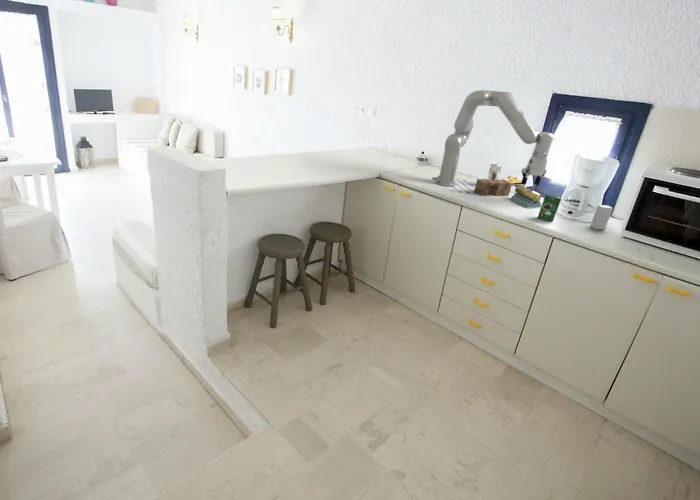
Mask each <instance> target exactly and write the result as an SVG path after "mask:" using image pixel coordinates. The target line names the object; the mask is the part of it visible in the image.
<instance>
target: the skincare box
mask: <svg viewBox="0 0 700 500" xmlns="http://www.w3.org/2000/svg"><path fill="white" fill-rule="evenodd" d="M613 210H614V208H613V207H612V206H610V205H608V204H607V205H602V204H597V206H596V209H595V211H594V215H593V216H592V220H591V222H590V225H589V226H590V227H591V228H592V227H593V228H592V229H594V230H606V228H607V225H608V223H609V220H610V217H611V214H612V212H613Z"/></svg>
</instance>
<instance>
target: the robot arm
mask: <svg viewBox="0 0 700 500" xmlns="http://www.w3.org/2000/svg"><path fill="white" fill-rule="evenodd" d="M514 98H515V97H514V95H513V94H512V92H509V91H499V90H498V91H497V90H489V89H488V90H485V89H479V90H475V91H472V92H470V93H469V94H468V95H467V96H466V97H465V99H464V101H463V102H462V106H461V108H460V109H459V113H458V115H457V117H456V119H455V122H454V124H453V127H454V133H451V134H450V135H448V136H447V137H446V140H445V143H444V150H443V151H444V152H443V157H442V162H441V168H440V171H439V175H437V176H433V177H431V180H432V181H435V183H436V184H438V185H441V186H445V187H455V186H456V184H457V183H456V182H455V177H456V174H457V173H456V172H457V169H458V164H459V159H460V154H461V148H463V147H464V146H465V145H466V144H467V141H468V139H469V137H470V135H471V133H472V130H473V128H474V124H475V122H474V119H473V118H474V116H475V113H476V110H477V108H478V107H479V106H480V107H484V106H488V107H497V108H498V109H499V111H501V112H502V114H503V115H504V117H505V118H506V120H507V121H508V122H509V124H510V125H511V127H512V128H513V130H514V131H515V133H516V135H517V136H518V137H519V139H520V140H521V141H522V142H523V143H524V144H527V145H531V144H535V147H534V149H533V152H532V154H531V155H532V156H531V157H530V158H529V160H528V163H527V164H526V167H524V168H522V169H521V174H522V179H521V184H522V185H524V186H525V185H526V184H527V182H528V179H529V176H535V180H534V183H533V184H534V185H537V186H539V185H540V183H541V181H542V179H543V177H545V175H546V173H547V172H548V170H547V169H546V167H547V162H548V158H547V157H548V155H549V152H550V148H551V146H552V143H553V141H554V138H555V137H554V133H551V132H547V131H541V130H537V129H536V128H532V127H531V126H530V124H529V122H528V121H527V120H526V117H525V114H524V111H523V109H522V107H520V106H519V105H518V103H517V102H516V100H515V99H514Z"/></svg>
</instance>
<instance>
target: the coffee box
mask: <svg viewBox="0 0 700 500" xmlns="http://www.w3.org/2000/svg"><path fill="white" fill-rule="evenodd" d="M561 200H562V197H560V196H555V195H551V194H547V193H546V194H545V196H544V198H543V200H542V202H541V203H542V204H541V207H540V208H539V211H538V212H539V213H538V215H537V218H538V219H540V220H544V219H545V221H548V220H549V221H548V222H552V221H553V222H554V219H555V217H556V215H557V211H558V210H559V207H560V204H561Z"/></svg>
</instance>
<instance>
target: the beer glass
mask: <svg viewBox="0 0 700 500" xmlns="http://www.w3.org/2000/svg"><path fill="white" fill-rule="evenodd" d="M501 172H502V165H501V164H497V163H491V164H490V167H489V170H488V175H487V179H494V180H499V177H500V175H501Z"/></svg>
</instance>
